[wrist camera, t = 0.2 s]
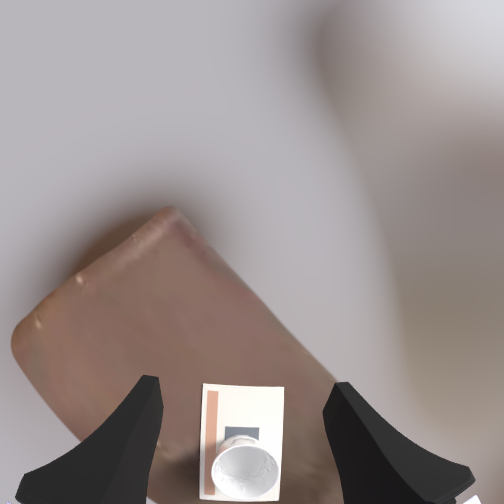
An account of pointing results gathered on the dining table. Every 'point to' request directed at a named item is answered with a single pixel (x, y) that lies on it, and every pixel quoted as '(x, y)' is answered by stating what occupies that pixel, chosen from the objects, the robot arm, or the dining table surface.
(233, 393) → the menu card
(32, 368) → the dining table surface
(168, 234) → the dining table surface
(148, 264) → the dining table surface
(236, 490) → the white cup
